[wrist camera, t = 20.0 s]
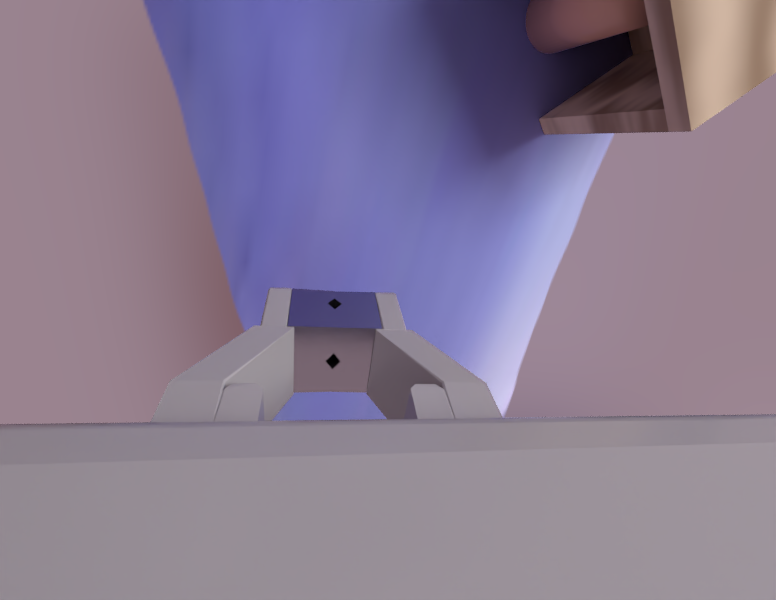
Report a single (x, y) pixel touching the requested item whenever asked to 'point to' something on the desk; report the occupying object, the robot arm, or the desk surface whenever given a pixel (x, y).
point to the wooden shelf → (677, 69)
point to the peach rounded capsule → (580, 21)
